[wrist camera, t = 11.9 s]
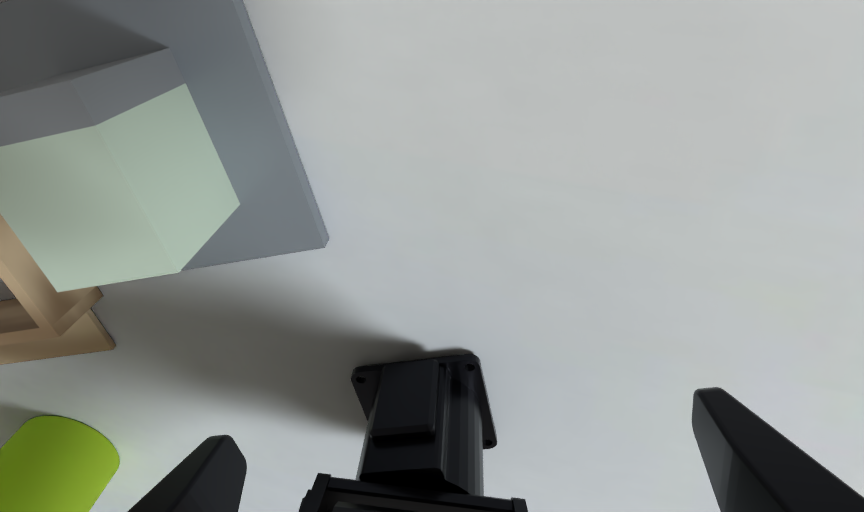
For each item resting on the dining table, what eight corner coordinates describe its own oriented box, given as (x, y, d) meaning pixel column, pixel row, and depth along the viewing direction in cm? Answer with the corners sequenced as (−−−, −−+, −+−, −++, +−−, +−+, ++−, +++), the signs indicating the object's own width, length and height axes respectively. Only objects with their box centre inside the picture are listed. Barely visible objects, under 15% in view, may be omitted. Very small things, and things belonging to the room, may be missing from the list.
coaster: (329, 238, 22) (324, 247, 21) (126, 271, 23) (115, 280, 23) (222, -56, 16) (211, -56, 16) (-34, 15, 18) (-54, 17, 17)
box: (240, 204, 20) (178, 272, 16) (141, 222, 21) (57, 292, 17) (169, 47, 17) (70, 80, 13) (57, 75, 18) (-72, 114, 14)
